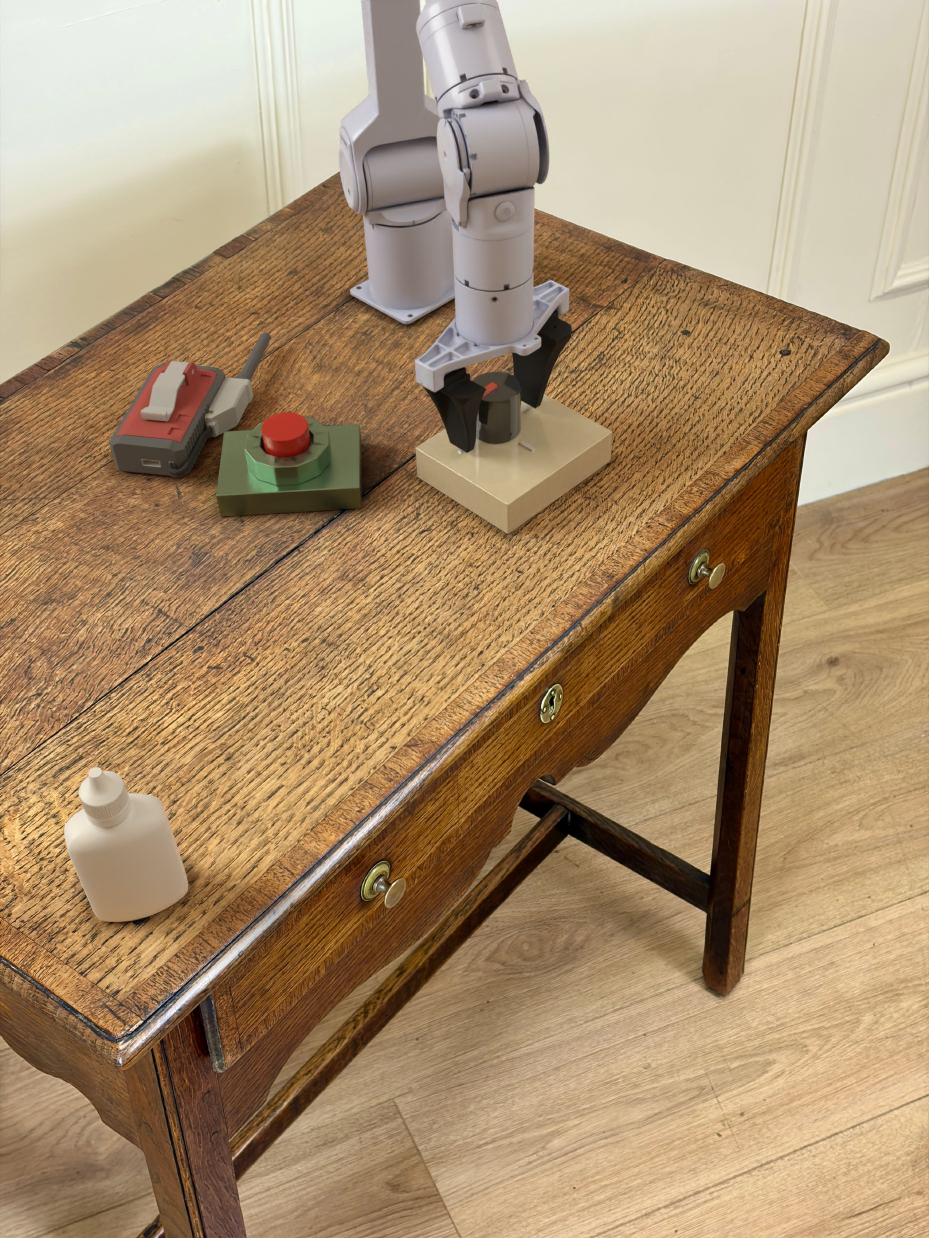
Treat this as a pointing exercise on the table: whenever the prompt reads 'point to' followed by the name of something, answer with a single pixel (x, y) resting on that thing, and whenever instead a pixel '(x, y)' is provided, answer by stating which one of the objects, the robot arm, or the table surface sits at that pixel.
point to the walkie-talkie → (181, 414)
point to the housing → (291, 473)
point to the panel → (518, 464)
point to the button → (286, 434)
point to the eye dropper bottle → (124, 850)
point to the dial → (499, 408)
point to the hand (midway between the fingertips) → (495, 423)
